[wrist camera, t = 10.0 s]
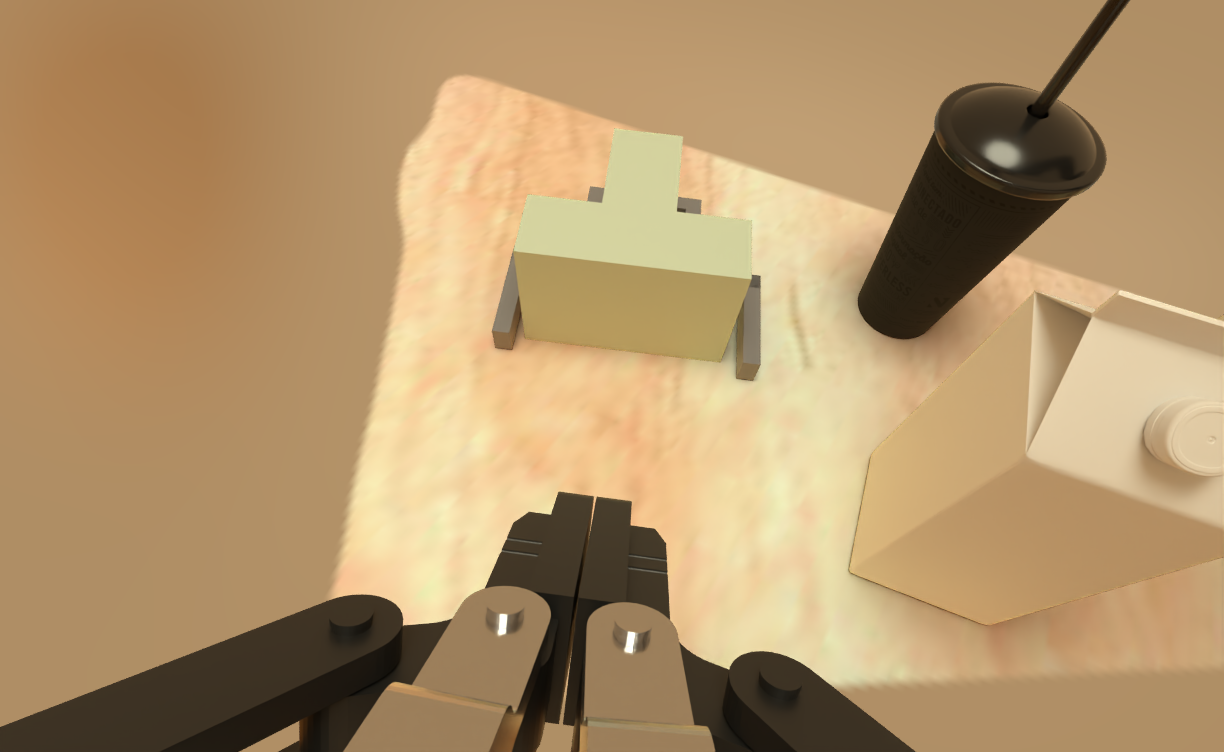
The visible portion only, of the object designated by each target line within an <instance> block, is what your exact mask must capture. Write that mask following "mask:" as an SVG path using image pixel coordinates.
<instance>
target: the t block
mask: <svg viewBox="0 0 1224 752" xmlns="http://www.w3.org/2000/svg"><path fill="white" fill-rule="evenodd" d="M682 143H683V136H676V135H667V134H658V133H650V132H641V131H632V130H624V129H615V128H614V134H613V140H612V146H611V152H610V158H609V164H608V170H607V176H606V182H605V188H604V194H603V200H602V203H598V202H589V201H581V200H572V199H564V198H555V197H547V196H538V195H530V194H528V195H527V199H526V203H525V207H524V211H523V215H522V219H521V223H520V227H519V231H518V235H517V239H516V243H515V247H514V251H513V252H514V260H515V267H516V275H517V282H518V290H519V297H520V305H521V313H522V320H523V328H524V335H525V339H530V340H538V341H547V342H555V343H563V344H572V345H580V346H588V347H596V348H605V349H613V350H621V351H630V352H638V353H646V354H654V355H663V356H671V357H679V358H687V359H696V360H704V361H712V362H721V359H722V357H723V354H724V351H725V349H726V346H727V343H728V341H729V338H730V335H731V333H732V330H733V327H734V325H735V322H736V319H737V317H738V314H739V312H740V309H741V306H742V304H743V301H744V298H745V296H746V293H747V290H748V288H749V285H750V282H751V280H752V220H743V219H735V218H726V217H718V216H709V215H701V214H692V213H683V212H677V203H678V191H679V179H680V167H681V155H682Z"/></svg>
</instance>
